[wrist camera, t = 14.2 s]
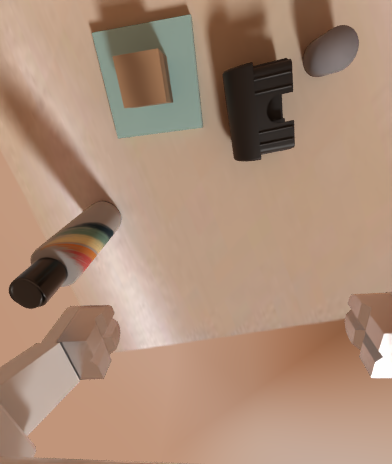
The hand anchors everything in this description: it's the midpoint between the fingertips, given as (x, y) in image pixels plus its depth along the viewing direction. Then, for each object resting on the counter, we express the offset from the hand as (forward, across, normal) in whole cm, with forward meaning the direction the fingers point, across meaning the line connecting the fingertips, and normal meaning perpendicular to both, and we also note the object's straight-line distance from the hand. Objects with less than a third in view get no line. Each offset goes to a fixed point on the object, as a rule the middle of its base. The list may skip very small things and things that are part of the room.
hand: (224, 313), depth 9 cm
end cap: (+31, -5, -5) cm, 32 cm away
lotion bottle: (+31, +20, +8) cm, 38 cm away
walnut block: (+30, +8, -10) cm, 32 cm away
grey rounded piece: (+31, -13, -10) cm, 35 cm away
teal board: (+31, +8, -10) cm, 34 cm away
